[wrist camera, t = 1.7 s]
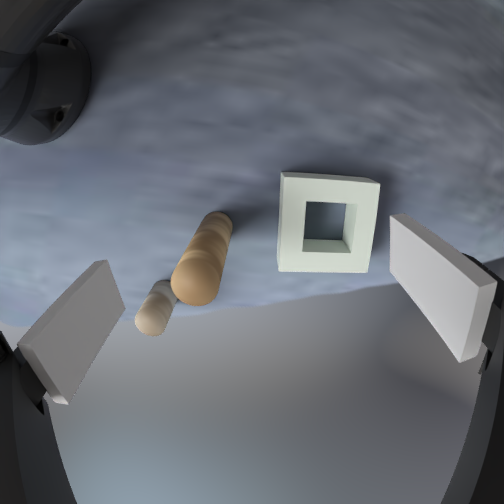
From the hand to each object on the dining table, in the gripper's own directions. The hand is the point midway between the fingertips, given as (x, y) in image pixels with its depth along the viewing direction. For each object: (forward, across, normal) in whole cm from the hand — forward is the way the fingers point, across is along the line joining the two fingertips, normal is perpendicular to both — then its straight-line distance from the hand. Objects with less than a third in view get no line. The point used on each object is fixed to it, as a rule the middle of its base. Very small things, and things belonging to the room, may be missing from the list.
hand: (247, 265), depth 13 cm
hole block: (+21, +7, -5) cm, 23 cm away
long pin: (+22, -5, -4) cm, 22 cm away
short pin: (+22, -13, -12) cm, 28 cm away
